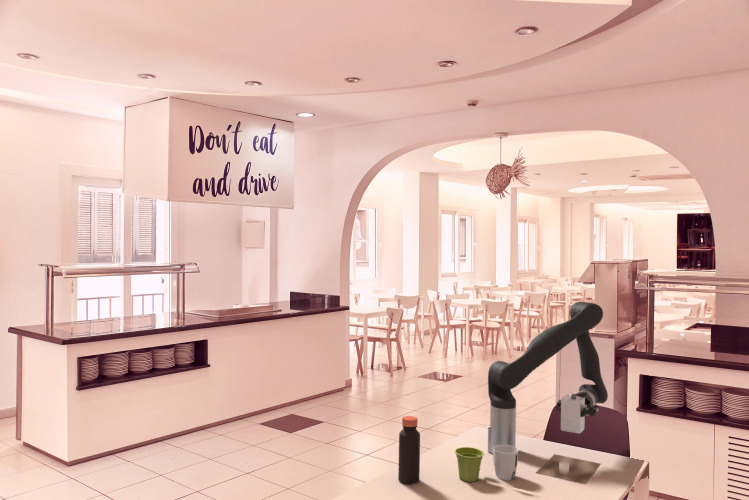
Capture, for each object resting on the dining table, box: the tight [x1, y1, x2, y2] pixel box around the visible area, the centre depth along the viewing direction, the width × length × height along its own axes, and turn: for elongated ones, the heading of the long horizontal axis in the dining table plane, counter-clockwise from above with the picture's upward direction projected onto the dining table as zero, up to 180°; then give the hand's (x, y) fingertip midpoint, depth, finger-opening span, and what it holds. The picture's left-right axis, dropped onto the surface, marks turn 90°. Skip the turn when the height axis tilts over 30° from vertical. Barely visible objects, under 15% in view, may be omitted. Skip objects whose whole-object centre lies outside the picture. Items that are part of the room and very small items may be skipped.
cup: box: [492, 445, 519, 481], centre depth 184 cm, size 8×8×10 cm
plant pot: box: [454, 446, 485, 483], centre depth 185 cm, size 9×9×9 cm
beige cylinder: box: [559, 461, 569, 476], centre depth 188 cm, size 3×3×4 cm
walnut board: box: [535, 453, 601, 485], centre depth 193 cm, size 16×22×1 cm
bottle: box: [397, 415, 421, 485], centre depth 182 cm, size 7×7×20 cm
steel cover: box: [560, 393, 586, 435], centre depth 197 cm, size 6×6×12 cm
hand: (571, 412), depth 195 cm, fingers closed on steel cover, 6 cm apart
